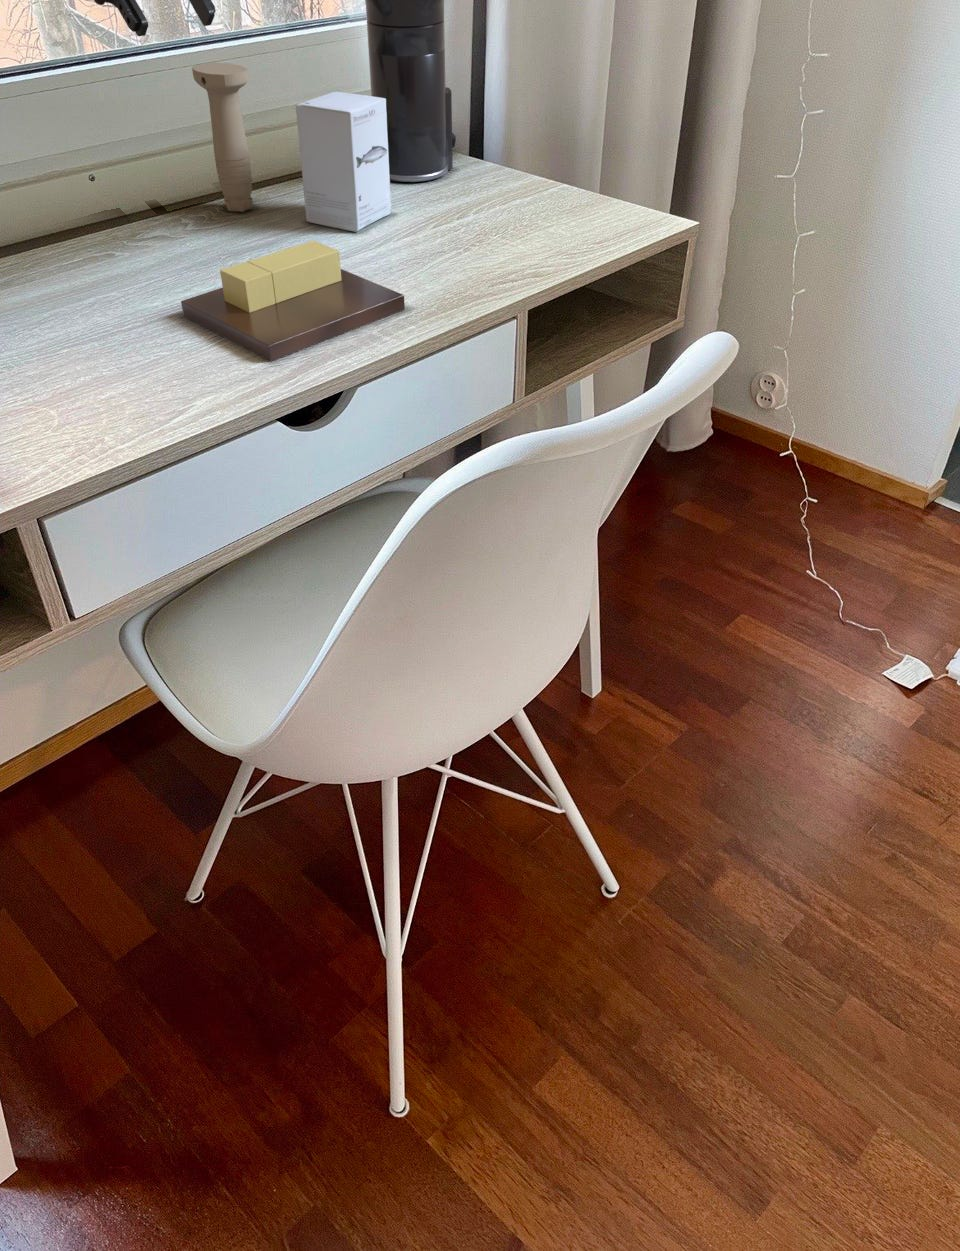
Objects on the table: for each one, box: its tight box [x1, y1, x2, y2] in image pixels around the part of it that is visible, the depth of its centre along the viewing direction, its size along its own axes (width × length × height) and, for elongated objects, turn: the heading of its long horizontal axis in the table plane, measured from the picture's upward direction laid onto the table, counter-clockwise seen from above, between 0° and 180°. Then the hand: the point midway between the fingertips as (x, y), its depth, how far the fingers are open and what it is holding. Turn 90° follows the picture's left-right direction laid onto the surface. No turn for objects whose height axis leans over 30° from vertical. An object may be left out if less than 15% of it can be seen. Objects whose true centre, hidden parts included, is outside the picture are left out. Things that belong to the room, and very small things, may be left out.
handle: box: [191, 62, 253, 213], centre depth 119 cm, size 5×6×15 cm
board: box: [180, 268, 406, 362], centre depth 100 cm, size 16×14×2 cm
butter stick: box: [246, 239, 342, 303], centre depth 101 cm, size 8×4×3 cm, turn 135°
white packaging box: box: [295, 91, 392, 233], centre depth 117 cm, size 7×7×13 cm
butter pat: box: [219, 261, 275, 313], centre depth 98 cm, size 3×4×3 cm
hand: (178, 25), depth 116 cm, fingers open, 8 cm apart
